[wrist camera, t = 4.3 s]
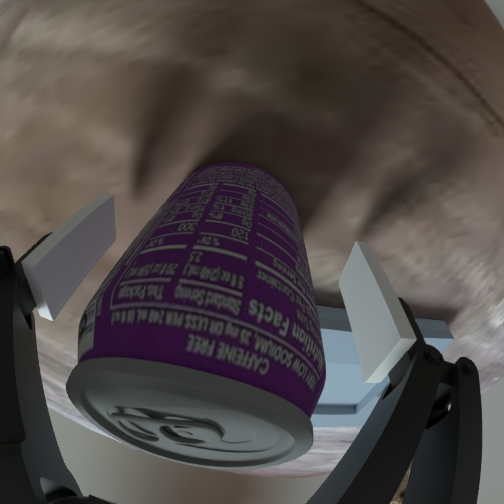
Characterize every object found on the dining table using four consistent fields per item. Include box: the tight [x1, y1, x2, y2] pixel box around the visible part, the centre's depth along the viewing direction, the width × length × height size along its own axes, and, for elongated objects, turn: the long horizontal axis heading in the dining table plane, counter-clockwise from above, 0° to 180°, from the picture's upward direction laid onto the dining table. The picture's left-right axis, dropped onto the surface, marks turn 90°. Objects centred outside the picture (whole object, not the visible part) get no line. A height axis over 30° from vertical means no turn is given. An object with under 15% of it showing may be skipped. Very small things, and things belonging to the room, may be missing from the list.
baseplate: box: [310, 305, 454, 427], centre depth 22 cm, size 16×16×2 cm
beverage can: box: [66, 162, 326, 469], centre depth 11 cm, size 7×7×12 cm
